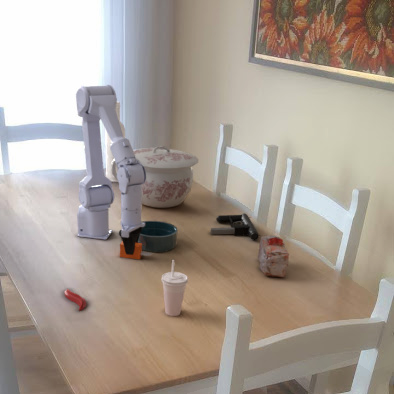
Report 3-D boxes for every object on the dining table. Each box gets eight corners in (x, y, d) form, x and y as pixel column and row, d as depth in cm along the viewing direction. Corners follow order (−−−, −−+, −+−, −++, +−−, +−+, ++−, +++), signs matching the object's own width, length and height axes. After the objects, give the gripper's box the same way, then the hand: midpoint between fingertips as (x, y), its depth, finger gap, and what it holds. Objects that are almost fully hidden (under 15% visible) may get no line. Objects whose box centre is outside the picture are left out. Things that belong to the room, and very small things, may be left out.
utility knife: (119, 257, 170) (119, 244, 167) (122, 253, 172) (122, 240, 170) (149, 260, 169) (149, 248, 167) (151, 257, 171) (152, 244, 169)
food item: (288, 279, 164) (294, 247, 159) (261, 279, 163) (265, 246, 158) (278, 260, 175) (283, 230, 170) (252, 260, 175) (257, 229, 169)
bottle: (103, 181, 234) (101, 102, 218) (109, 176, 240) (108, 99, 225) (122, 183, 233) (122, 104, 217) (127, 178, 240) (127, 101, 224)
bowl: (126, 249, 175) (126, 233, 172) (137, 233, 187) (137, 218, 184) (172, 255, 173) (172, 239, 171) (180, 238, 185) (181, 223, 183)
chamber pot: (209, 202, 219) (213, 146, 208) (168, 220, 199) (171, 159, 188) (150, 187, 231) (151, 133, 220) (106, 202, 211) (105, 144, 200)
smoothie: (159, 306, 145) (161, 254, 138) (184, 306, 146) (188, 255, 138) (160, 318, 140) (162, 265, 132) (186, 318, 140) (190, 266, 133)
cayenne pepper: (88, 310, 141) (88, 303, 140) (69, 311, 139) (68, 304, 138) (81, 288, 150) (80, 282, 149) (63, 290, 149) (62, 283, 148)
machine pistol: (214, 234, 184) (263, 232, 186) (205, 213, 201) (250, 211, 203) (214, 243, 186) (262, 241, 188) (205, 222, 203) (249, 221, 204)
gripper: (139, 217, 156) (138, 263, 163) (150, 201, 168) (149, 244, 175) (113, 214, 157) (114, 260, 164) (127, 198, 169) (127, 242, 176)
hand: (130, 252), depth 170 cm, fingers closed on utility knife, 3 cm apart
